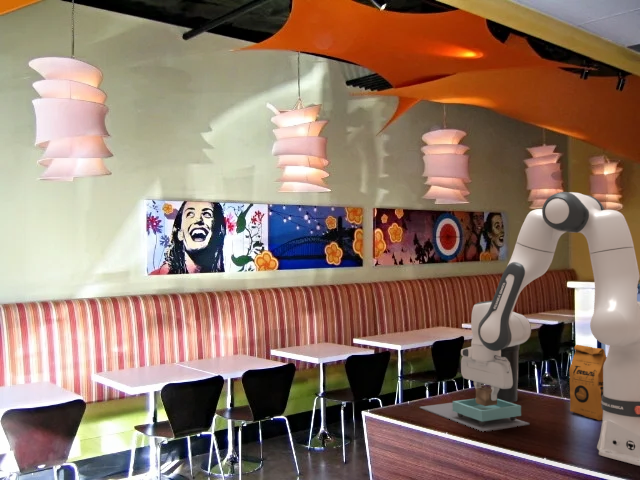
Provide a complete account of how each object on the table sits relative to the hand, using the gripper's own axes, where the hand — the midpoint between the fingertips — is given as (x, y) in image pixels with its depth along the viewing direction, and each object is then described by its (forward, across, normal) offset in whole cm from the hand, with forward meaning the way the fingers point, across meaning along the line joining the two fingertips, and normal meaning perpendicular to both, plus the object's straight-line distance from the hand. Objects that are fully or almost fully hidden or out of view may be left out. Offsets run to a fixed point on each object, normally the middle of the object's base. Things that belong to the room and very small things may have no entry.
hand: (486, 398), depth 204 cm
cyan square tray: (+7, 0, 0) cm, 7 cm away
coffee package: (+7, -10, -34) cm, 36 cm away
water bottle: (+7, +20, -25) cm, 33 cm away
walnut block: (+2, 0, 0) cm, 2 cm away
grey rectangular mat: (+7, +7, 0) cm, 10 cm away
